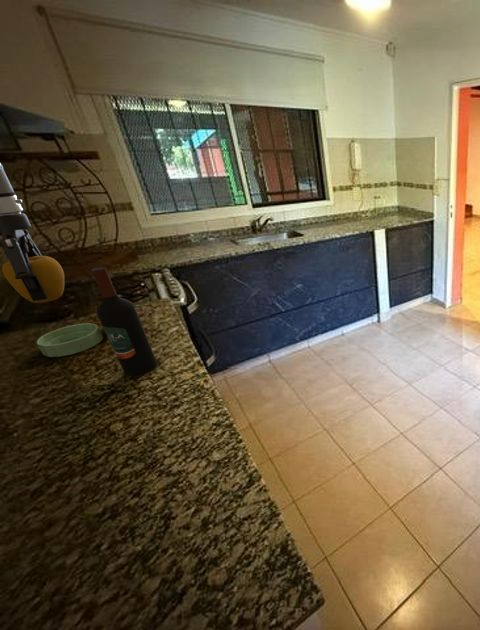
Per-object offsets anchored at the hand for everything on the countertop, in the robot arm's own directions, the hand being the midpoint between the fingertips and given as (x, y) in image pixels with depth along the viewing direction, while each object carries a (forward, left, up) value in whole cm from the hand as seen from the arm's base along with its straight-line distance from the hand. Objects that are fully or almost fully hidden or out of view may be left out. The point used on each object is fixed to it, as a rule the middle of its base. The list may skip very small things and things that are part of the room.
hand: (44, 293), depth 98 cm
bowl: (-2, +2, -19) cm, 19 cm away
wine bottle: (+28, -12, -19) cm, 36 cm away
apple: (0, 0, -2) cm, 2 cm away
